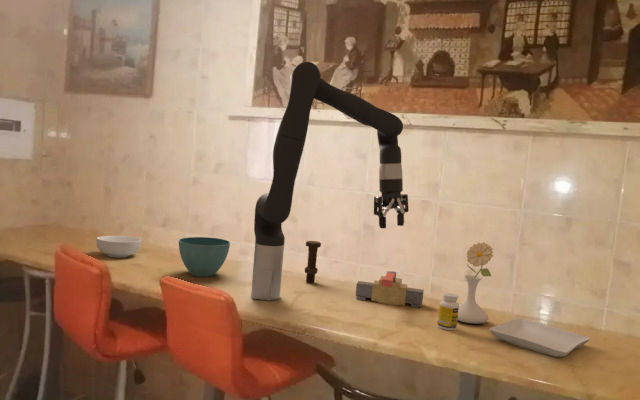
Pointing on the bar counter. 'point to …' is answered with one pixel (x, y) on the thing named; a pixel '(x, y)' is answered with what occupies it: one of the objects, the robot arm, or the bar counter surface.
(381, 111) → the robot arm
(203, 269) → the teal bowl
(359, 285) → the pipe and valve
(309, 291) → the bar counter surface
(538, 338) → the salad plate
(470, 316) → the flower in vase
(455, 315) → the supplement bottle
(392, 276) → the lever
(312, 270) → the bolt
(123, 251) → the cereal bowl
